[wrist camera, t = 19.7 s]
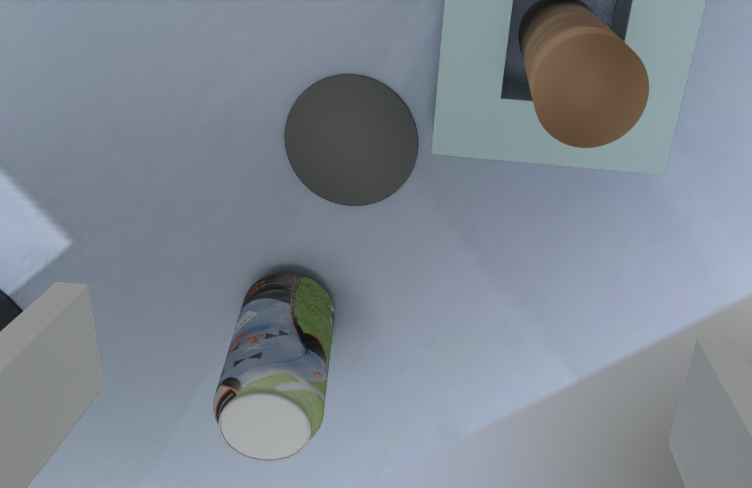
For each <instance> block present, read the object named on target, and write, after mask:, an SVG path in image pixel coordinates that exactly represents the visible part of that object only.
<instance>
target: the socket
mask: <svg viewBox="0 0 752 488" xmlns="http://www.w3.org/2000/svg"><path fill="white" fill-rule="evenodd" d="M705 3H706V0H617V2H616V7H615V12H614V18H613V23H612V28H611V30H612V31H613V32H614V33H615V34H616V35H617V36H618V37H619V38H621V39H622V40H623V41H624V42H625V43H626V44H627V45H628V46H629V47H630V48H631V49H632V50H633V51H634V52H635V53H636V54H637V55H638V56H639V57H640V59H641V61H642V62H643V64H644V66H645V68H646V71H647V74H648V79H649V96H648V101H647V104H646V107H645V110H644V112H643V114H642V116H641V117H640V119H639V120H638V122H637V123H636V124H635V126H634V127H633V128H632V129H631V130H630V131H629V132H627V133H626V134H625V135H624V136H622V137H621V138H619V139H618V140H616V141H614V142H612V143H609V144H606V145H604V146H599V147H594V148H578V147H573V146H569V145H566V144H564V143H561V142H560V141H558V140H556V139H555V138H553V137H552V136H551V135H550V134H549V133H548V132H547V131H546V130H545V129H544V128H543V126H542V125H541V123H540V121H539V119H538V117H537V115H536V112H535V108H534V104H533V99H532V95H531V91H530V87H529V84H523V83H510V82H503V75H504V67H505V59H506V51H507V43H508V35H509V27H510V20H511V12H512V4H513V0H445V1H444V13H443V24H442V36H441V48H440V59H439V71H438V83H437V94H436V106H435V117H434V129H433V141H432V152H431V154H436V155H447V156H458V157H469V158H480V159H491V160H502V161H513V162H524V163H535V164H546V165H557V166H568V167H579V168H590V169H601V170H612V171H623V172H634V173H645V174H656V175H664V174H665V170H666V166H667V162H668V157H669V153H670V149H671V145H672V141H673V137H674V132H675V128H676V124H677V120H678V116H679V111H680V107H681V103H682V99H683V95H684V91H685V86H686V82H687V78H688V74H689V70H690V66H691V61H692V57H693V53H694V49H695V45H696V41H697V36H698V32H699V28H700V24H701V20H702V15H703V11H704V7H705Z"/></svg>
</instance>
